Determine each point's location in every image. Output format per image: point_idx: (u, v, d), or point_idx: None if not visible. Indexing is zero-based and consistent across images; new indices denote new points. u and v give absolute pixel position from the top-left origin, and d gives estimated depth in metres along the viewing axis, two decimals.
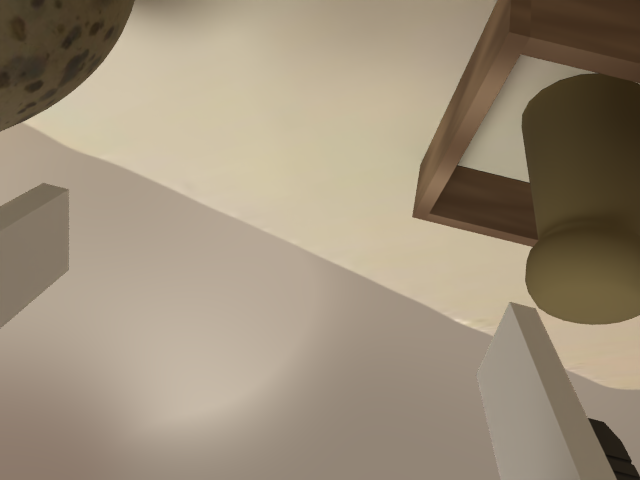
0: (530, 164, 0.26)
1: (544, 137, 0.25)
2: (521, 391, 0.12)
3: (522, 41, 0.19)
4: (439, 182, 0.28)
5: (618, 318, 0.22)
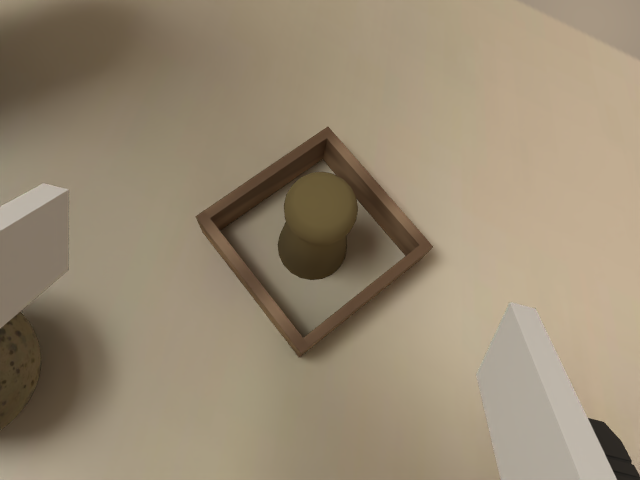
0: (294, 257, 0.41)
1: (284, 245, 0.42)
2: (521, 391, 0.12)
3: (203, 214, 0.41)
4: (274, 308, 0.39)
5: (338, 190, 0.35)
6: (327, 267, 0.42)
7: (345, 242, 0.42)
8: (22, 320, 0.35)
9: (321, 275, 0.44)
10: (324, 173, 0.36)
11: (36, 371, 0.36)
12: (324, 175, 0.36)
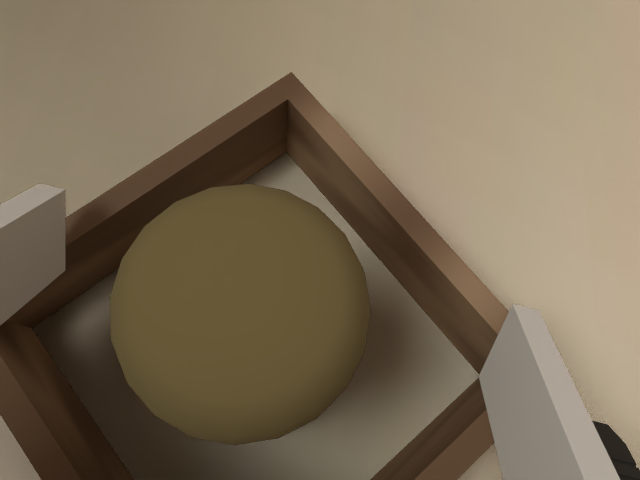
0: None
1: None
2: (524, 393, 0.12)
3: None
4: None
5: (298, 254, 0.09)
6: None
7: None
8: None
9: None
10: (251, 190, 0.10)
11: None
12: (249, 197, 0.10)
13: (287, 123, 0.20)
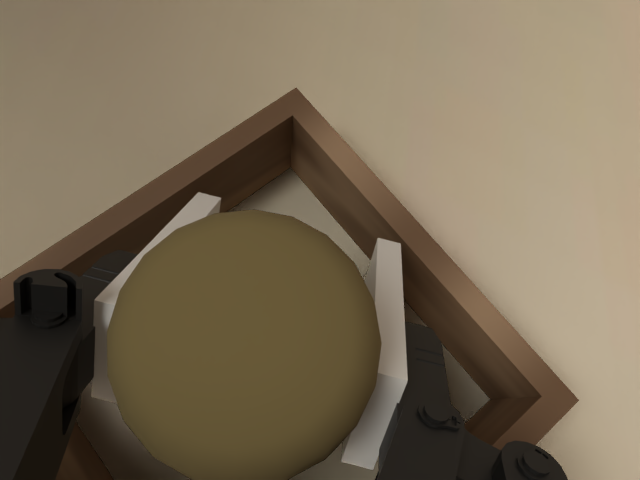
0: None
1: None
2: None
3: None
4: None
5: (306, 286, 0.09)
6: None
7: None
8: None
9: None
10: (256, 217, 0.10)
11: None
12: (254, 226, 0.09)
13: (291, 139, 0.19)
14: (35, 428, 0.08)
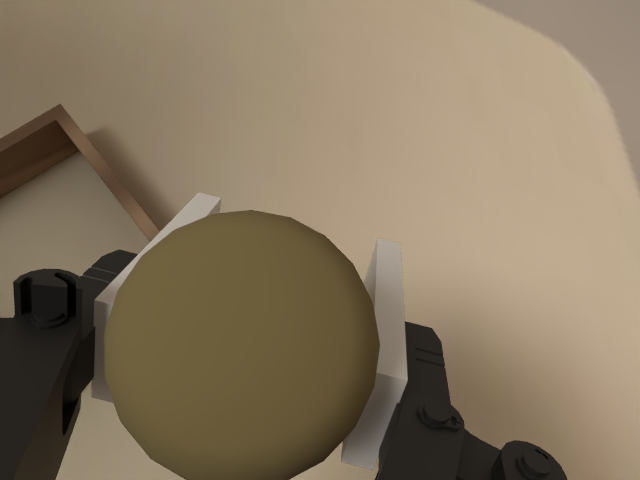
0: None
1: None
2: None
3: None
4: None
5: (304, 288, 0.09)
6: None
7: None
8: None
9: None
10: (254, 218, 0.10)
11: None
12: (252, 226, 0.09)
13: (65, 132, 0.34)
14: (35, 428, 0.08)
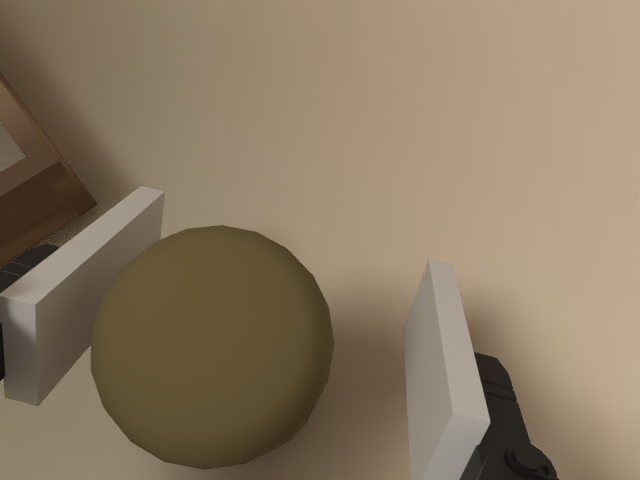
0: None
1: None
2: (426, 333, 0.14)
3: None
4: None
5: (262, 294, 0.10)
6: None
7: None
8: None
9: None
10: (222, 232, 0.11)
11: None
12: (220, 240, 0.11)
13: None
14: None
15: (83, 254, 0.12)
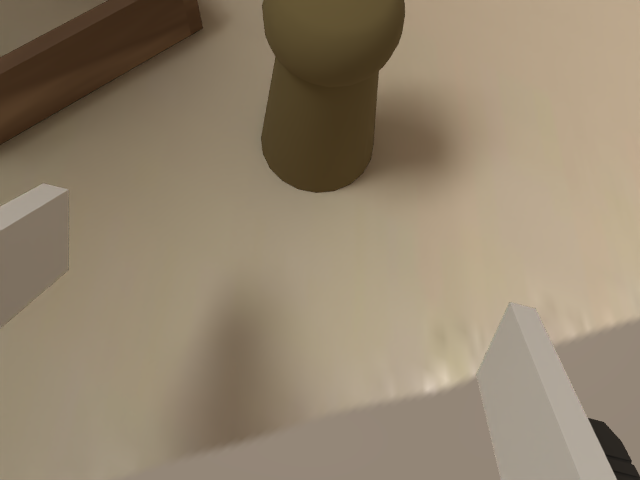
0: (286, 140, 0.24)
1: (269, 125, 0.25)
2: (521, 391, 0.12)
3: None
4: None
5: None
6: (343, 162, 0.25)
7: (374, 119, 0.25)
8: None
9: (333, 182, 0.26)
10: None
11: None
12: None
13: None
14: None
15: None
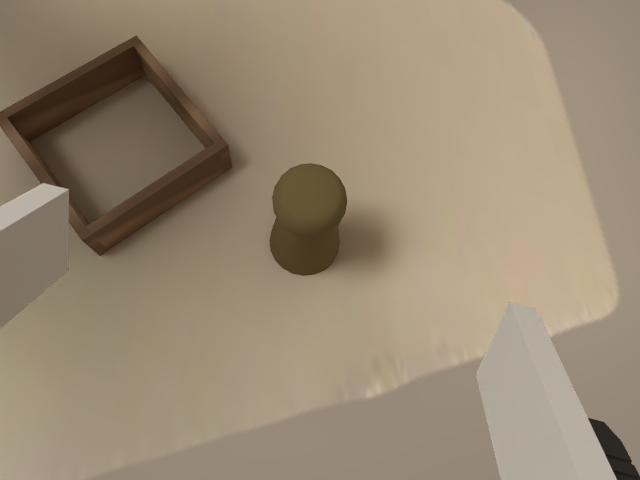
0: (285, 251, 0.41)
1: (275, 240, 0.42)
2: (521, 391, 0.12)
3: (1, 114, 0.42)
4: None
5: (326, 181, 0.35)
6: (319, 261, 0.42)
7: (337, 236, 0.42)
8: None
9: (313, 270, 0.43)
10: (312, 165, 0.36)
11: None
12: (312, 166, 0.35)
13: (138, 58, 0.47)
14: None
15: None
